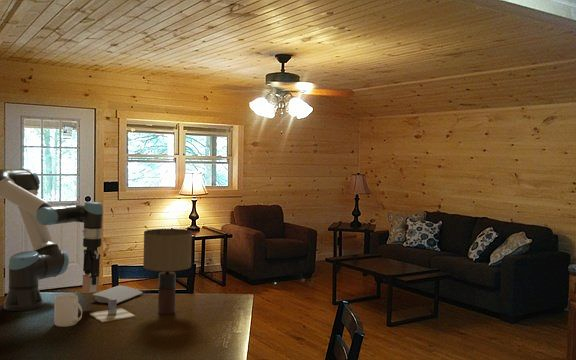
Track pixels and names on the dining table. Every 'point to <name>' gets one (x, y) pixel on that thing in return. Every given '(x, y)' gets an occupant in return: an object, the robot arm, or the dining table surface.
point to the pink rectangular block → (87, 283)
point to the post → (112, 306)
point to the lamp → (167, 261)
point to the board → (105, 317)
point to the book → (117, 294)
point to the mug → (66, 310)
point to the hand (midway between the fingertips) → (90, 290)
